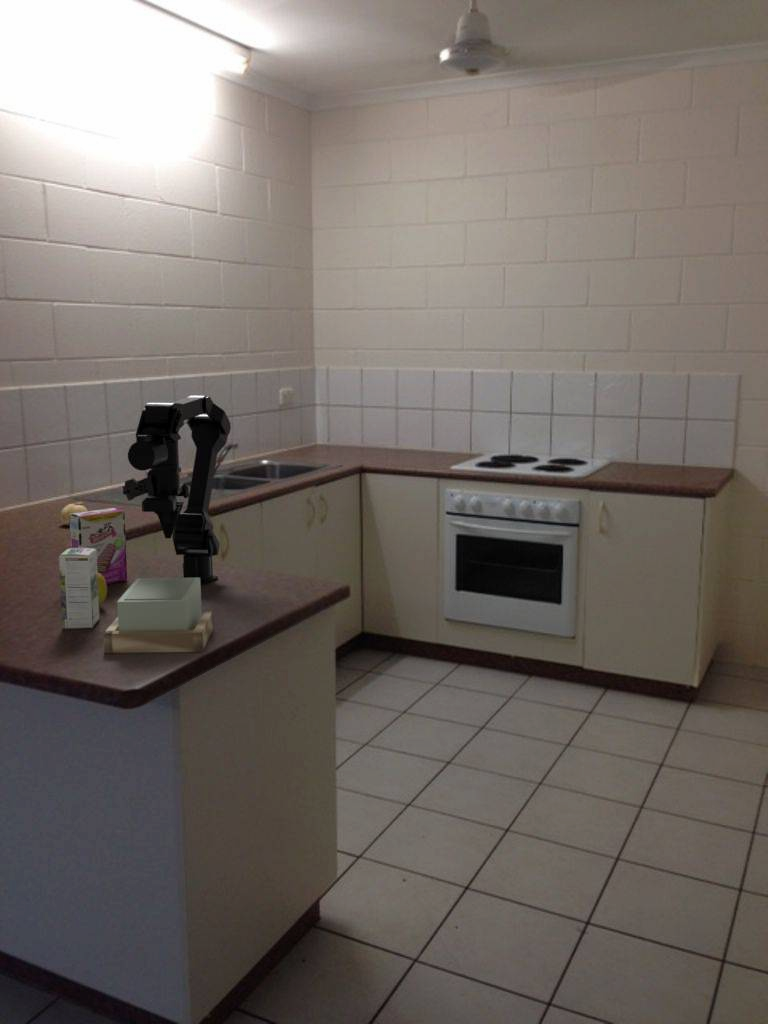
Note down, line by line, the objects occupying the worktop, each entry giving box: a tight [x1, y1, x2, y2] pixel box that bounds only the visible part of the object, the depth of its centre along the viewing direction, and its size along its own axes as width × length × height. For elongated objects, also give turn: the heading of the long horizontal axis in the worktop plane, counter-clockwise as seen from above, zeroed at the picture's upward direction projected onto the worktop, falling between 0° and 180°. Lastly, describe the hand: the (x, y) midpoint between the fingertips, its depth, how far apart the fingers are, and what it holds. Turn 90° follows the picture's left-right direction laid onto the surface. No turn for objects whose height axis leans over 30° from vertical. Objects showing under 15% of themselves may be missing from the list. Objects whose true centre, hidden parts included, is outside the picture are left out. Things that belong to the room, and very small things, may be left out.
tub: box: [116, 577, 203, 631], centre depth 170 cm, size 16×12×9 cm
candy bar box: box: [69, 507, 128, 585], centre depth 205 cm, size 11×5×16 cm, turn 134°
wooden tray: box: [102, 611, 214, 654], centre depth 167 cm, size 12×17×4 cm
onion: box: [59, 500, 89, 527], centre depth 270 cm, size 8×8×7 cm
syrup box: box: [58, 547, 100, 630], centre depth 175 cm, size 6×6×14 cm
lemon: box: [98, 573, 108, 605], centre depth 187 cm, size 6×6×8 cm
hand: (168, 538), depth 192 cm, fingers closed
